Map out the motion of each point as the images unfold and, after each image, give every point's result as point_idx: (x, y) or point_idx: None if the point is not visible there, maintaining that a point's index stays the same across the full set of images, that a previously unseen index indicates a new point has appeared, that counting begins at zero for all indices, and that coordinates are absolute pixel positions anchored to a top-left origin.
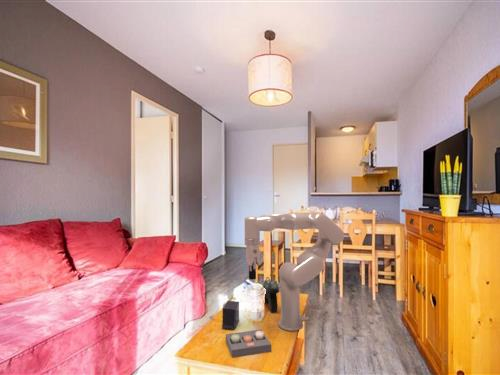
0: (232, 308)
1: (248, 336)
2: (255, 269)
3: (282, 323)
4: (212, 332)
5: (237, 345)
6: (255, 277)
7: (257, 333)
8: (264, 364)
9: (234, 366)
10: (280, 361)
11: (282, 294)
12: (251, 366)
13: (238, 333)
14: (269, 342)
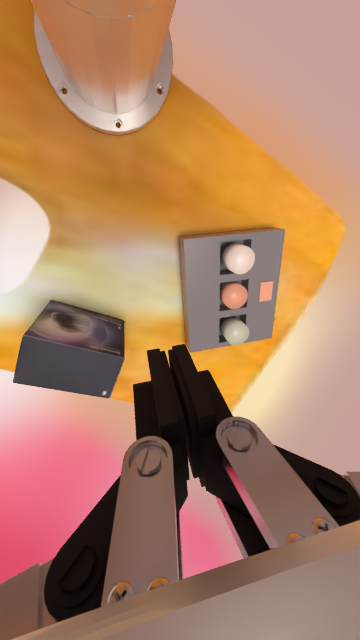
0: (118, 364)
1: (232, 294)
2: (273, 452)
3: (123, 110)
4: (130, 375)
5: (256, 324)
6: (188, 357)
7: (243, 268)
8: (313, 260)
9: (292, 325)
10: (321, 215)
11: (131, 5)
12: (307, 291)
13: (194, 318)
14: (274, 232)
